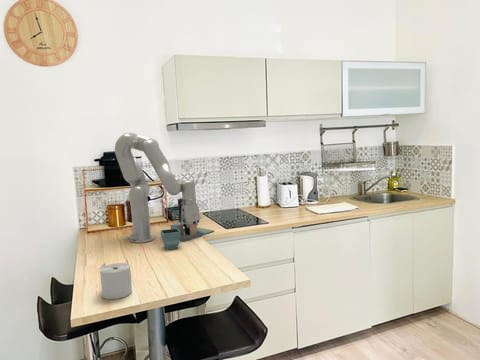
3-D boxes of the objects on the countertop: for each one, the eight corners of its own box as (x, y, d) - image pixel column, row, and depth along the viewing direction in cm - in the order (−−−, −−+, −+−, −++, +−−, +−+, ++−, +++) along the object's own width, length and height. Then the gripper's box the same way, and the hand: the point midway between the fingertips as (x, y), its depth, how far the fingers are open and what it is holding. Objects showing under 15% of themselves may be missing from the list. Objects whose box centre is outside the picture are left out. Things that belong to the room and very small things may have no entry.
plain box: (176, 237, 217) (176, 225, 217) (171, 235, 221) (170, 224, 220) (183, 235, 221) (183, 224, 220) (178, 233, 224) (177, 223, 224)
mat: (204, 234, 222) (204, 233, 222) (188, 231, 231) (188, 230, 231) (214, 231, 228) (214, 230, 228) (198, 228, 237) (198, 227, 237)
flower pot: (178, 244, 205) (176, 227, 204) (181, 248, 197) (180, 231, 196) (161, 246, 202) (160, 230, 201) (164, 251, 194) (163, 233, 193)
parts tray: (184, 241, 210) (183, 237, 209) (165, 237, 220) (165, 233, 220) (203, 235, 220) (202, 231, 220) (184, 232, 231) (184, 228, 230)
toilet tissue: (124, 300, 138) (121, 273, 137) (93, 299, 140) (90, 272, 139) (137, 288, 148) (135, 263, 147) (108, 287, 150) (105, 262, 149)
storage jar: (190, 222, 254) (189, 200, 252) (176, 222, 256) (175, 200, 254) (195, 219, 264) (194, 197, 262) (182, 219, 266) (180, 198, 264)
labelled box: (191, 237, 216) (190, 225, 215) (185, 236, 219) (184, 224, 218) (197, 235, 219) (196, 223, 219) (191, 234, 223) (191, 222, 222)
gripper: (181, 205, 208) (184, 237, 210) (204, 199, 221) (206, 230, 223) (173, 203, 213) (175, 235, 215) (196, 198, 226) (198, 229, 228)
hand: (191, 233), depth 219 cm, fingers closed on labelled box, 4 cm apart
